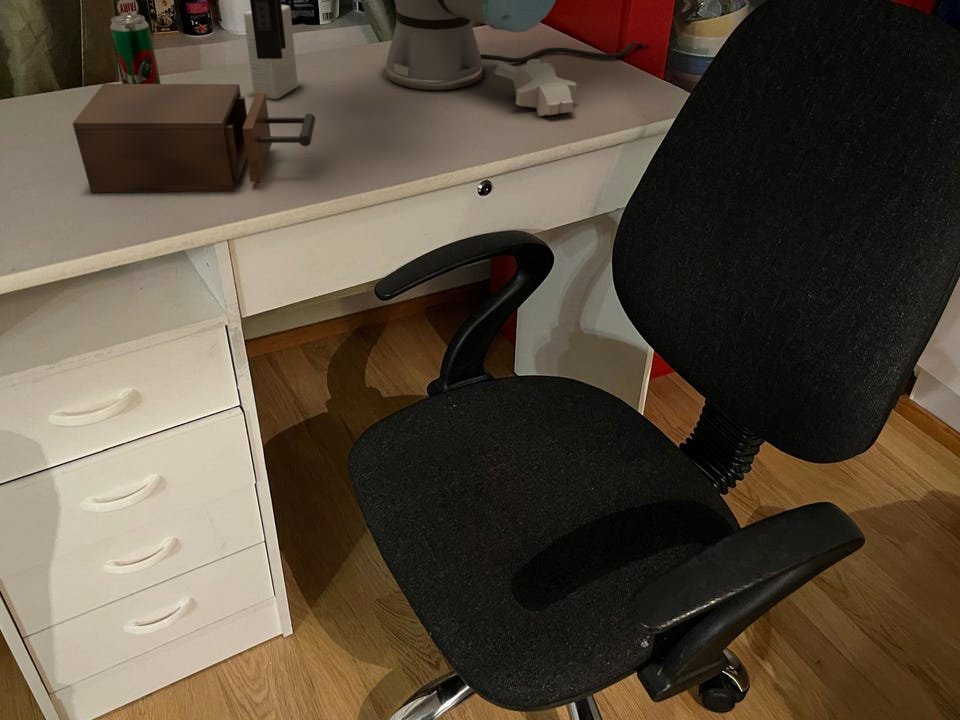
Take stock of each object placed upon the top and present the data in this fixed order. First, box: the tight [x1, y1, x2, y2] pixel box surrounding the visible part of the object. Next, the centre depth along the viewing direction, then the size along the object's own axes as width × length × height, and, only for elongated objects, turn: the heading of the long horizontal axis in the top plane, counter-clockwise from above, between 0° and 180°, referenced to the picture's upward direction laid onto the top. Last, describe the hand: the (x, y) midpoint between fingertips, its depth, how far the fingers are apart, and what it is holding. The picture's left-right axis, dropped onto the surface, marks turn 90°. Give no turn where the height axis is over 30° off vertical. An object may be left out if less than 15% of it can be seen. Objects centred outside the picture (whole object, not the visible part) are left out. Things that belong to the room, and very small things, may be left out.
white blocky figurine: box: [494, 58, 578, 117], centre depth 128 cm, size 10×5×15 cm
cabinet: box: [72, 83, 242, 193], centre depth 105 cm, size 17×13×9 cm
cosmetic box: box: [243, 4, 299, 100], centre depth 126 cm, size 6×4×12 cm
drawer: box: [224, 93, 317, 183], centre depth 106 cm, size 22×11×7 cm, turn 94°
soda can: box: [109, 13, 162, 84], centre depth 121 cm, size 5×5×12 cm
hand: (271, 52), depth 100 cm, fingers open, 3 cm apart
